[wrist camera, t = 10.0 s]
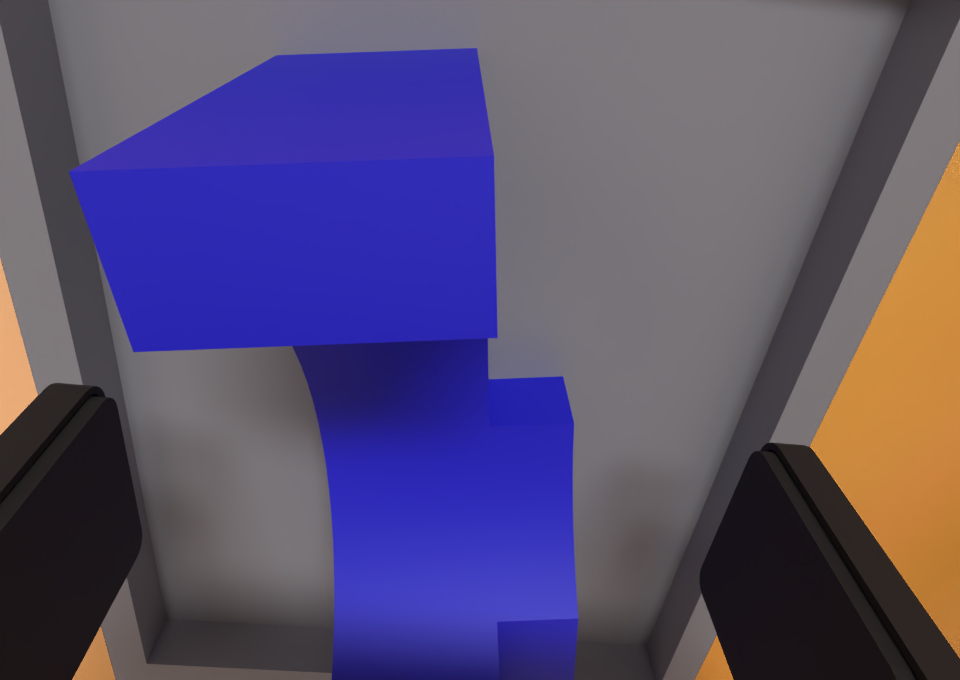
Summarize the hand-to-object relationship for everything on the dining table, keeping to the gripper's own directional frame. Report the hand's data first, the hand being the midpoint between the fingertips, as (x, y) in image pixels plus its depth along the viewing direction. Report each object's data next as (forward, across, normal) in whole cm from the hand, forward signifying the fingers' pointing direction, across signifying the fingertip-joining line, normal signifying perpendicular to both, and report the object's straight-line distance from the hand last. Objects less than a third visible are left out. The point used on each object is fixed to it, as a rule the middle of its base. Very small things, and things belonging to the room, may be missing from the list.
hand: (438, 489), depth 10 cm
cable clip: (+4, 0, 0) cm, 4 cm away
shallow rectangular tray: (+4, 0, 0) cm, 4 cm away
